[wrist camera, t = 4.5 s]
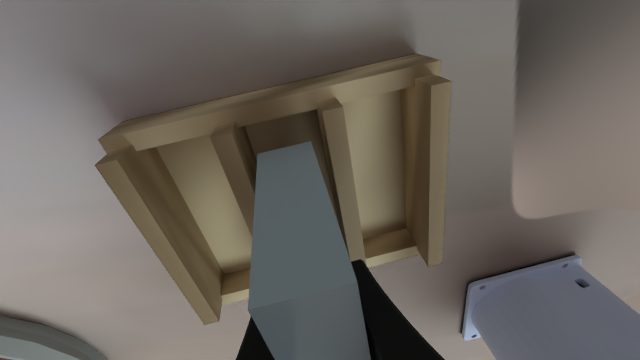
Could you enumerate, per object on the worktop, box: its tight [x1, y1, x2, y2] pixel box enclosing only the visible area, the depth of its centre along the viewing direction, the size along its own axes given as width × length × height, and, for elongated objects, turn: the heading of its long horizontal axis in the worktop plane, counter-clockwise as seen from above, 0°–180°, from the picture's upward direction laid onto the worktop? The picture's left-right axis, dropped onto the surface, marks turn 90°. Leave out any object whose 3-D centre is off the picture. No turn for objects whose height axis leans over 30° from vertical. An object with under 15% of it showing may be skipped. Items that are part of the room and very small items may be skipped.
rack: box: [95, 54, 452, 325], centre depth 15 cm, size 14×11×4 cm
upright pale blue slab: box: [248, 141, 371, 360], centre depth 11 cm, size 2×8×7 cm, turn 11°
